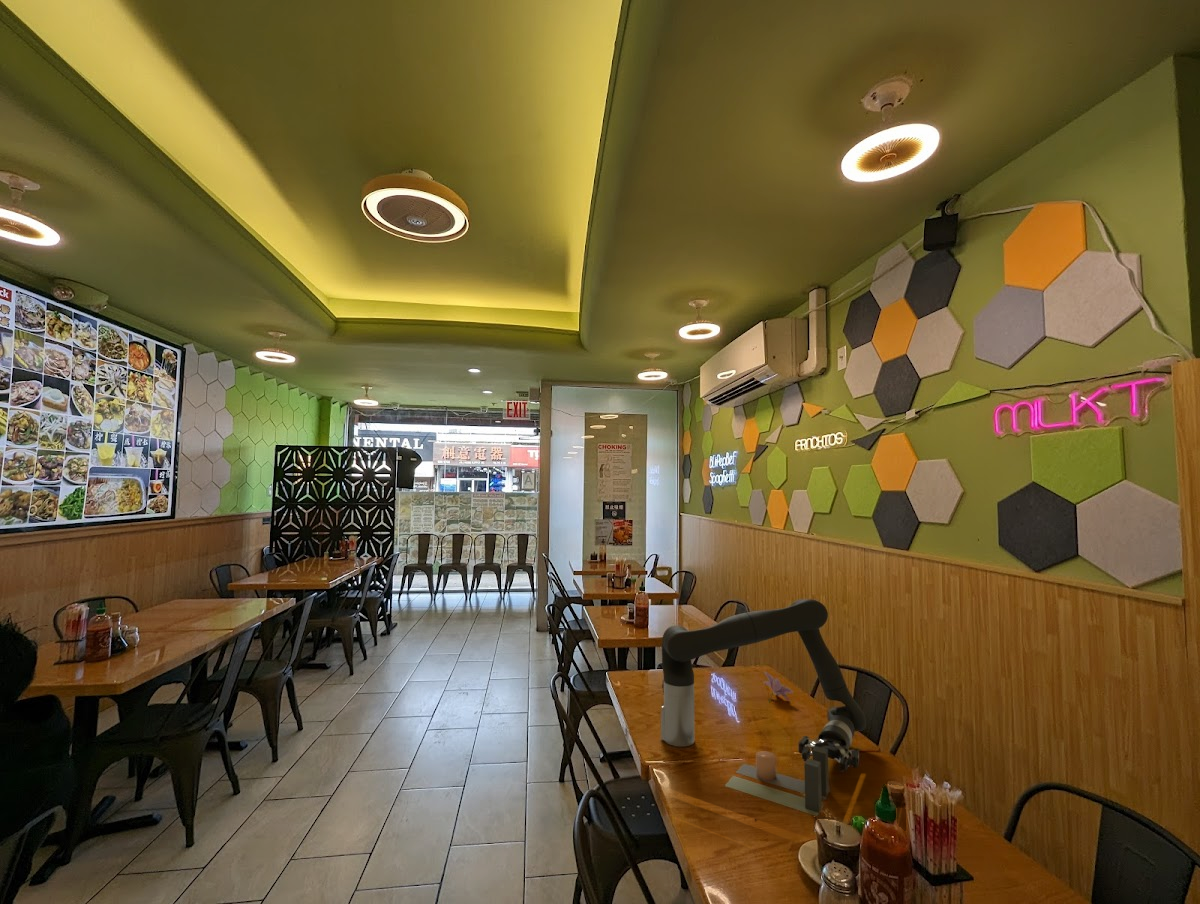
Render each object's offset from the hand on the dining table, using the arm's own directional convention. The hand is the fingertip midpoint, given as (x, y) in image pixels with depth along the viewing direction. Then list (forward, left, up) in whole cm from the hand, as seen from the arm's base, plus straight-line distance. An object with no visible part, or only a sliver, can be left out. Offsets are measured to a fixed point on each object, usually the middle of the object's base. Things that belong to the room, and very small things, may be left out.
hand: (822, 762), depth 134 cm
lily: (-28, +56, -8) cm, 63 cm away
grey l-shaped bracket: (-10, -3, -7) cm, 12 cm away
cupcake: (-58, +34, -8) cm, 67 cm away
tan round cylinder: (-14, -3, -6) cm, 15 cm away
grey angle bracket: (-10, -11, -7) cm, 16 cm away
